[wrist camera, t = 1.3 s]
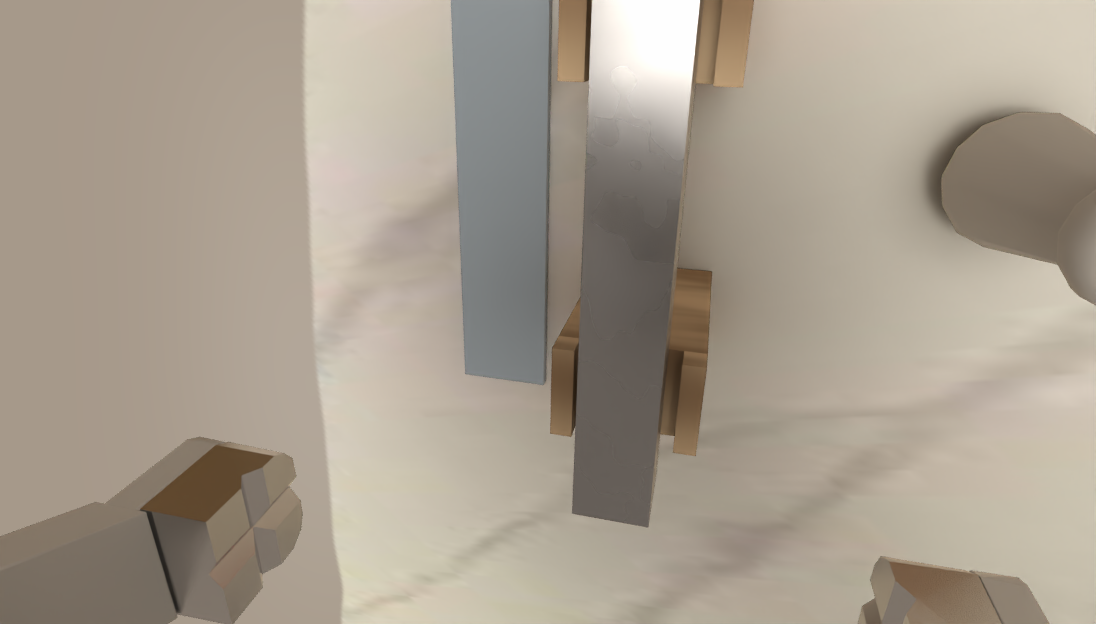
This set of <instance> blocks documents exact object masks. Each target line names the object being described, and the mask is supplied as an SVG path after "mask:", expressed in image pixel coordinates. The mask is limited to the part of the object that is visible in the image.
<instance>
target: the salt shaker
mask: <svg viewBox="0 0 1096 624" xmlns="http://www.w3.org/2000/svg"><path fill="white" fill-rule="evenodd" d="M941 186H942V206H943V209H944V210H945V212H946V214H947V216H948V217H949V219H950V221H951V223H952V225H953V226H954V228H955V230H956V232H957V233H959V234H960V235H962V236H964V237H966V238H968V239H970V240H972V241H974V242H975V243H977V244H979V245H981V246H983V247H986V248H990V249H994V250H999V251H1003V252H1007V253H1011V254H1015V255H1019V256H1024V257H1028V258H1032V259H1036V260H1040V261H1044V262H1049V263H1053V264H1057V265H1058V266H1059V268H1060V270H1061V272H1062V273H1063V275H1064V277H1065V279H1066V281H1067V282H1068V284H1069V286H1070V288H1071V289H1072V290H1073V291H1074V292H1075V293H1076V294H1077V295H1078V296H1080V297H1081V298H1083V299H1085V300H1087V301H1089V302H1091V303H1092V304H1094V305H1096V135H1095V134H1094V133H1093V132H1091V131H1090V130H1089V129H1087V128H1086V127H1084V126H1082V125H1080V124H1078V123H1077V122H1075V121H1073V120H1071V119H1069V118H1068V117H1066V116H1064V115H1062V114H1061V113H1038V112H1019V113H1016V114H1013V115H1010V116H1007V117H1004V118H1001V119H998V120H996V121H993V122H990V123H987V124H984V125H982V126H981V127H980V128H979V129H978V130H977V131H975V132H974V133H973V134H972V135H971V136H970V137H969V138H967V139H966V140H965V141H964V142H963V143H962V144H961V145H959V146H958V147H957V148H956V150H955V152H954V154H953V156H952V158H951V159H950V161H949V163H948V165H947V167H946V169H945V171H944V172H943V174H942V176H941Z"/></svg>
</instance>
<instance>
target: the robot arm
mask: <svg viewBox="0 0 1096 624" xmlns="http://www.w3.org/2000/svg"><path fill="white" fill-rule="evenodd" d="M295 478H296V472H295V468H294V463H293V458H292V457H290V456H288V455H286V454H285V453H282V452H277V451H272V450H267V449H261V448H256V447H252V446H247V445H242V444H236V443H231V442H222V441H218V440H213V439H208V438H203V437H196V438H192V439H187V440H186V441H185V442H183V443H182V444H181V445H180V446H178V447H177V448H176V449H174V450H173V451H172V452H171V453H169V454H168V455H167V456H165V457H164V458H163V459H162V460H160V461H159V462H158V463H156V464H155V465H154V466H152V467H151V468H150V469H149V470H147V471H146V472H145V473H143V474H142V475H141V476H140V477H138V478H137V479H136V480H135V481H133V482H132V483H131V484H129V485H128V486H127V487H125V488H124V489H123V490H122V491H120V492H119V493H118V494H117V495H115V496H114V497H113V498H111V499H110V500H109V501H108V502H106V503H105V504H104V503H99V502H94V503H91V504H88V505H85V506H83V507H80V508H77V509H75V510H72V511H69V512H66V513H63V514H61V515H58V516H55V517H52V518H50V519H47V520H44V521H41V522H38V523H36V524H33V525H30V526H27V527H25V528H22V529H19V530H16V531H13V532H11V533H8V534H5V535H3V536H0V624H168V623H170V622H172V621H173V620H175V619H176V618H177V614H178V615H183V616H188V617H193V618H198V619H203V620H208V621H213V622H218V623H223V624H233V623H234V622H235V621H236V620H237V619H238V617H239V616H240V615H241V614H242V613H243V611H244V610H245V609H246V608H247V606H248V605H249V604H250V603H251V601H252V600H253V599H254V598H255V597H256V595H257V594H258V592H260V590H261V589H262V588H263V573H265V572H267V571H269V570H271V569H273V568H275V567H277V566H278V565H280V564H282V563H283V562H284V560H285V559H286V558H287V556H288V555H289V554H290V552H291V551H292V550H293V548H294V546H295V543H296V541H297V539H298V536H299V534H300V531H301V527H302V526H301V525H302V516H303V512H302V506H301V500H300V499H299V498H298V496H297V495H296V494H295V493H294V492H293V490H292V489H291V488H290V487H289V486H290V485H291V483H292V482H293V481H294V479H295ZM870 581H871V585H872V589H873V592H874V596H875V598H874V599H873V600H871V601H869V602H868V603H866V604H865V605H863V606H862V608H861V612H860V616H859V620H858V624H1049V622H1048V620H1047V618H1046V617H1045V615H1044V613H1043V611H1042V610H1041V608H1040V606H1039V604H1038V603H1037V601H1036V599H1035V597H1034V596H1033V594H1032V592H1031V590H1030V589H1029V587H1028V585H1027V584H1025V583H1024V582H1023V581H1022V580H1021V579H1019V578H1017V577H1011V576H1004V575H998V574H991V573H985V572H978V571H966V570H961V569H955V568H949V567H943V566H937V565H931V564H925V563H919V562H913V561H907V560H901V559H895V558H889V557H883V556H881V557H880V558H879V559H878V561H877V562H876V564H875V566H874V569H873V572H872V575H871V578H870Z"/></svg>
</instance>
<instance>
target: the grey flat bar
mask: <svg viewBox="0 0 1096 624" xmlns="http://www.w3.org/2000/svg"><path fill="white" fill-rule="evenodd" d="M451 18H452V44H453V69H454V95H455V120H456V146H457V172H458V197H459V223H460V249H461V274H462V300H463V326H464V351H465V374H468V375H475V376H483V377H490V378H497V379H504V380H511V381H518V382H526V383H533V384H540V385H544V383H545V381H546V322H547V262H548V202H549V141H550V81H551V21H552V0H451Z"/></svg>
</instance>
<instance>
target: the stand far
mask: <svg viewBox="0 0 1096 624" xmlns="http://www.w3.org/2000/svg"><path fill="white" fill-rule="evenodd" d="M711 280H712V272H711V271H700V270H690V269H679V268H677V275H676V285H675V295H674V305H673V315H672V325H671V335H670V344H669V354H668V364H667V374H666V384H665V394H664V404H663V414H662V424H661V434H664V435H670V436H675V438H674V447H673V453H679V454H685V455H692V456H696V449H697V441H698V433H699V426H700V418H701V410H702V402H703V394H704V386H705V379H706V371H707V356H708V337H709V318H710V299H711ZM580 299H581V297H580ZM580 299H579V301H578V302H577V304H576V306H575V308H574V310H573V311H572V313H571V315H570V317H569V319H568V320H567V322H566V324H565V326H564V328H563V329H562V331H561V333H560V335H559V337H558V338H557V340H556V342H555V344H554V346H553V347H552V375H551V423H550V434H557V435H563V436H570V437H571V436H572V433H573V431H574V428H575V426H576V403H577V377H578V351H579V325H580Z"/></svg>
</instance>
